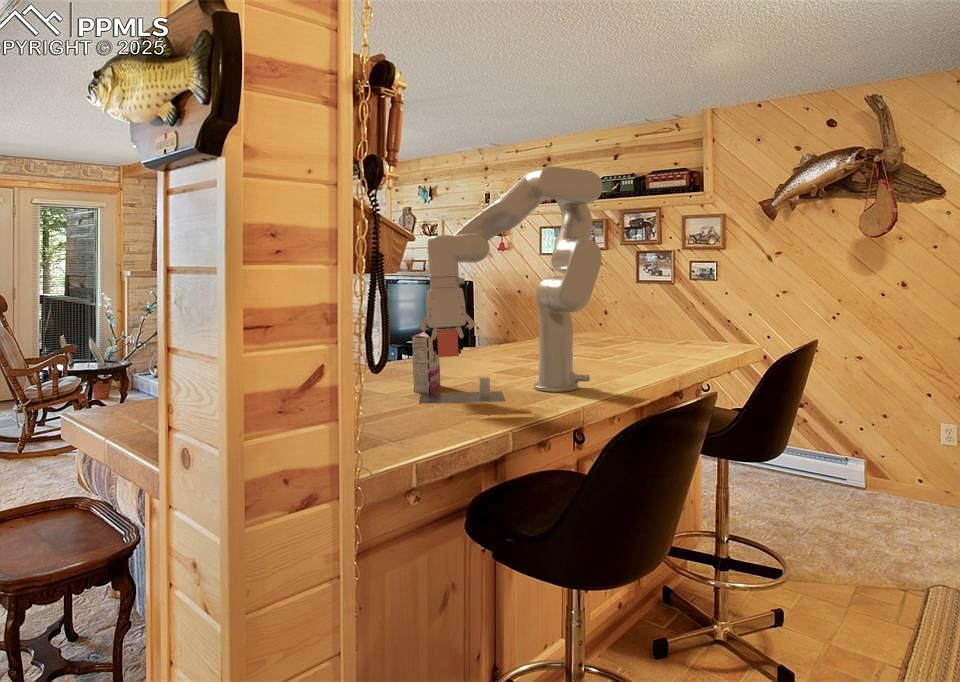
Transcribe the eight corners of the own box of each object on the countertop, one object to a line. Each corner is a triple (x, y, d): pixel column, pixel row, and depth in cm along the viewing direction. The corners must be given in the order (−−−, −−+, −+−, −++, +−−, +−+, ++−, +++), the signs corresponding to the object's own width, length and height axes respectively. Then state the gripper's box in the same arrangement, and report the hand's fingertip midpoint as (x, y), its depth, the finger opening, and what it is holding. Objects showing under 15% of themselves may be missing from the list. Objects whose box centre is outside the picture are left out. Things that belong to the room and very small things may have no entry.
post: (501, 394, 178) (501, 373, 177) (505, 404, 165) (505, 381, 164) (421, 396, 177) (420, 375, 176) (418, 406, 164) (418, 383, 163)
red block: (458, 353, 173) (457, 328, 172) (458, 356, 167) (457, 330, 166) (438, 354, 172) (437, 329, 171) (438, 357, 167) (436, 331, 166)
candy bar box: (424, 387, 189) (422, 331, 188) (440, 387, 188) (439, 331, 187) (412, 395, 179) (411, 335, 177) (430, 395, 178) (428, 336, 176)
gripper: (477, 281, 171) (480, 349, 174) (412, 284, 171) (416, 353, 173) (478, 282, 164) (481, 353, 166) (410, 286, 163) (414, 357, 166)
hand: (448, 352), depth 170 cm, fingers closed on red block, 5 cm apart
